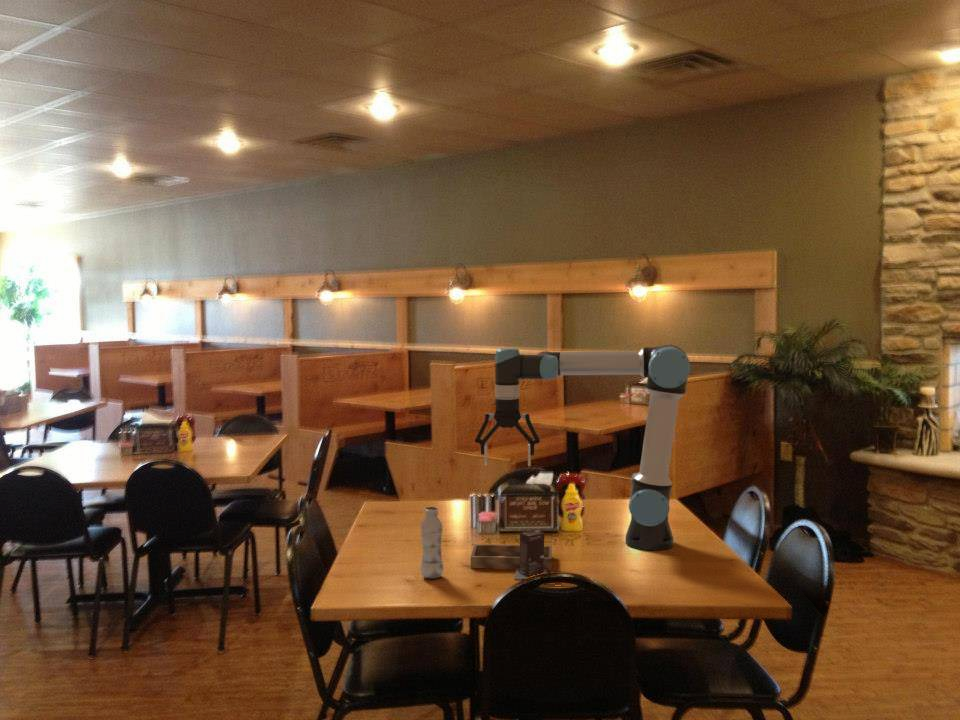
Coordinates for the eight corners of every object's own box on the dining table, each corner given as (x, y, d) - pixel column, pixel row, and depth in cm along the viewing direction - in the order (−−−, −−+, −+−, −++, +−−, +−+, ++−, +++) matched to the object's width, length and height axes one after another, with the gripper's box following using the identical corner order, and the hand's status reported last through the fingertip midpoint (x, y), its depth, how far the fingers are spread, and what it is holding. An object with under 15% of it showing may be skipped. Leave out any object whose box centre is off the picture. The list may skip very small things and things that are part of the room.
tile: (546, 570, 253) (546, 568, 253) (546, 580, 244) (546, 579, 244) (515, 569, 254) (515, 568, 254) (514, 579, 245) (514, 578, 245)
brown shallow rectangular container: (551, 556, 266) (551, 545, 265) (551, 570, 253) (551, 558, 253) (474, 555, 268) (474, 544, 267) (470, 568, 255) (470, 556, 255)
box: (528, 577, 245) (528, 535, 244) (518, 573, 249) (518, 532, 248) (545, 573, 249) (545, 532, 248) (535, 569, 253) (535, 529, 252)
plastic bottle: (423, 582, 243) (422, 512, 242) (418, 574, 250) (417, 506, 248) (446, 580, 245) (445, 510, 244) (440, 572, 252) (439, 504, 250)
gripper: (547, 396, 273) (547, 463, 275) (468, 396, 275) (469, 462, 277) (547, 399, 266) (547, 468, 268) (466, 399, 268) (466, 467, 270)
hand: (507, 465), depth 272 cm, fingers open, 13 cm apart
